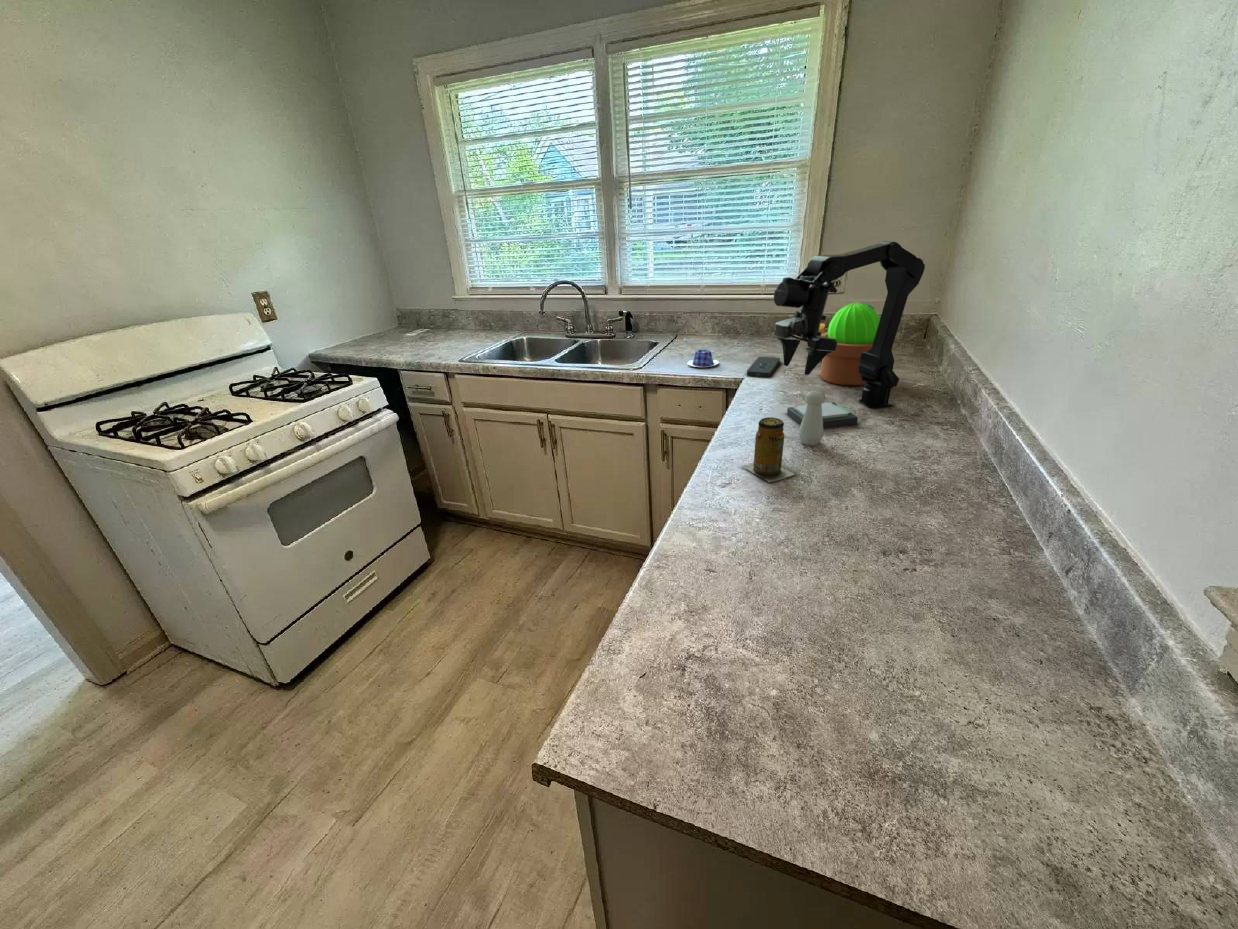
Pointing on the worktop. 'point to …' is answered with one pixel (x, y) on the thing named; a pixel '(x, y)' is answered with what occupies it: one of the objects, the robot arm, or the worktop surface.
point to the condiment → (769, 451)
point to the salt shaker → (812, 419)
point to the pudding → (703, 359)
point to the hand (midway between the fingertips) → (795, 370)
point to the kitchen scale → (826, 415)
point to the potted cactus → (849, 343)
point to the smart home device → (763, 366)
